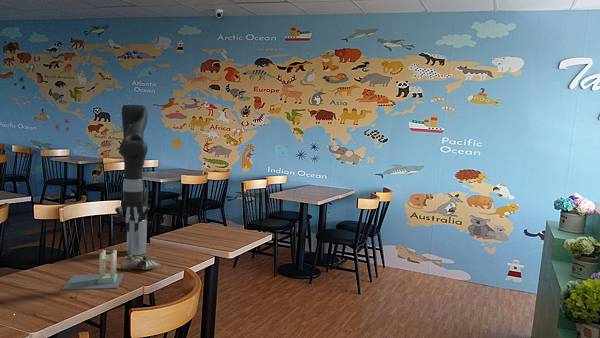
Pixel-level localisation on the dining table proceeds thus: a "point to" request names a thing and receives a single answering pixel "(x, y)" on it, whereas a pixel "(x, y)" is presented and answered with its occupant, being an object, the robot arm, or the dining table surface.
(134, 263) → the figurine
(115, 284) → the mat
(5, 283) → the dining table surface
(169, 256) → the dining table surface
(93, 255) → the dining table surface
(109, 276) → the stool
